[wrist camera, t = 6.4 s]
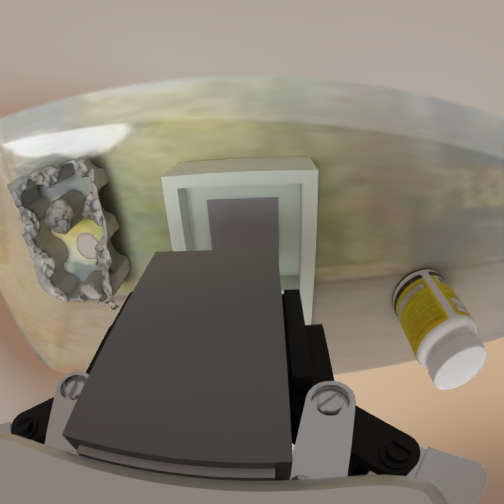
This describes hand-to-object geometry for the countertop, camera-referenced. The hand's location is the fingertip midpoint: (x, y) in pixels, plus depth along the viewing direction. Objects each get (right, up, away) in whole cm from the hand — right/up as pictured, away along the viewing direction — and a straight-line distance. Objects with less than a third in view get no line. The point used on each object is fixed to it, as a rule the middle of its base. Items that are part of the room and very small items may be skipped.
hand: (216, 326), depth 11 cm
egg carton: (-12, +5, +10) cm, 16 cm away
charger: (0, +1, +1) cm, 2 cm away
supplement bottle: (+15, 0, +11) cm, 18 cm away
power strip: (+1, +2, +11) cm, 11 cm away
